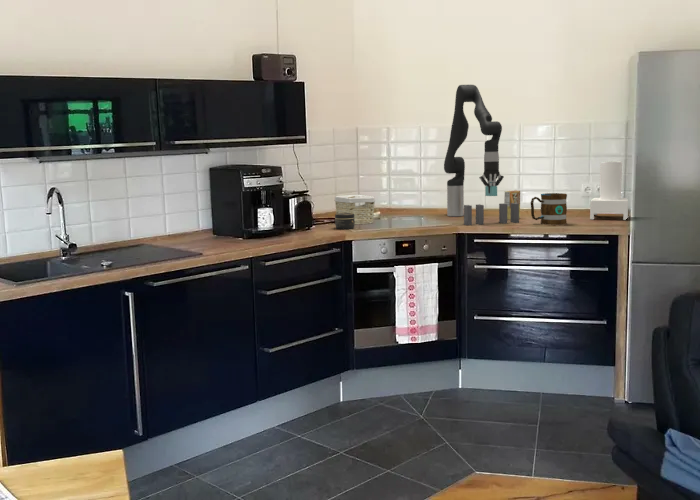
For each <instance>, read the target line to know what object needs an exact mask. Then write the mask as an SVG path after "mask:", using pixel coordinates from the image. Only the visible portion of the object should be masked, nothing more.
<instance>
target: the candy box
mask: <svg viewBox="0 0 700 500" xmlns="http://www.w3.org/2000/svg"><path fill="white" fill-rule="evenodd" d="M503 199H504V201H503V202H504V204H507V221H508V220H510V221H511V203H518V204H519V219H521V190H516V189H515V190H505V191H504V198H503Z"/></svg>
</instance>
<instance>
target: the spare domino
mask: <svg viewBox="0 0 700 500" xmlns="http://www.w3.org/2000/svg"><path fill="white" fill-rule="evenodd" d="M484 189H485V190H484V191H485V192H484V193H485V197H498V186H490V193H488V186H485V185H484Z"/></svg>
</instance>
